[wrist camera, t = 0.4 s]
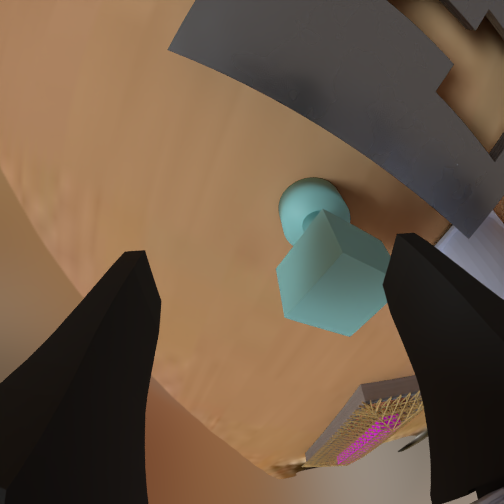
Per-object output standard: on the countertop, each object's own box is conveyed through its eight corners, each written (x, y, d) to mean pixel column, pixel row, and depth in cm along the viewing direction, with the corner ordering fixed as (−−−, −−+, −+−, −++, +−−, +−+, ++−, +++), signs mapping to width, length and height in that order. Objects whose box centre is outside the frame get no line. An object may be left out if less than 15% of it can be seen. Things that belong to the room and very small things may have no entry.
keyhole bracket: (540, 60, 12) (575, 74, 9) (441, 208, 20) (468, 239, 17) (331, -141, 5) (352, -167, 2) (181, 47, 13) (167, 49, 10)
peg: (352, 195, 19) (406, 283, 13) (317, 241, 21) (350, 336, 15) (301, 166, 18) (342, 252, 11) (266, 217, 20) (284, 317, 14)
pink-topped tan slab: (360, 443, 59) (365, 466, 54) (300, 452, 57) (303, 477, 52) (442, 364, 37) (456, 399, 32) (355, 378, 36) (367, 421, 31)
